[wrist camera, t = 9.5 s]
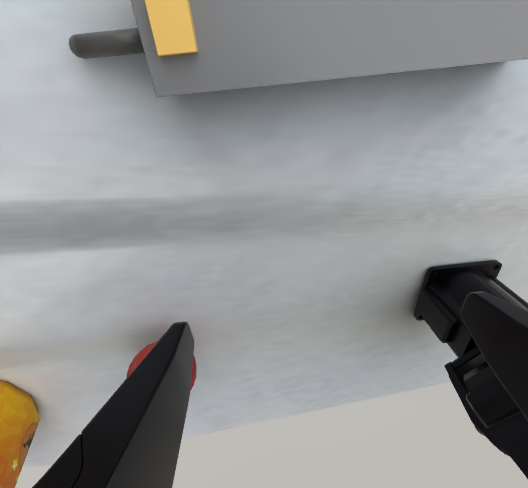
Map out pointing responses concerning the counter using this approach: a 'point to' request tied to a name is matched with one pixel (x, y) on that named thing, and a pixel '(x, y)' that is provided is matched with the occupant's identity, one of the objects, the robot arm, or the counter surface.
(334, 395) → the counter surface
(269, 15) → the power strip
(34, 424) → the bucket of meat
